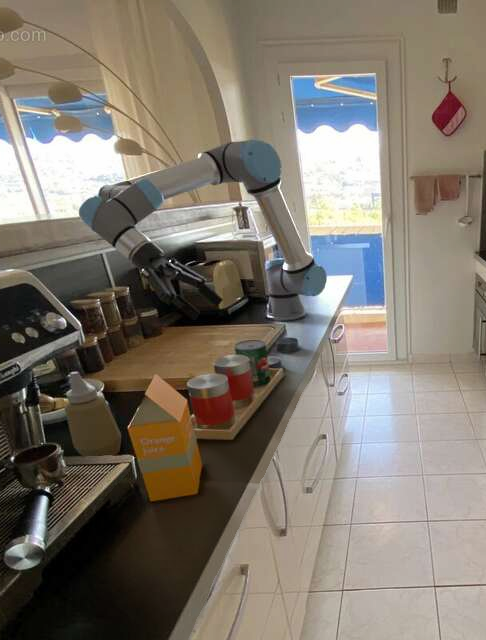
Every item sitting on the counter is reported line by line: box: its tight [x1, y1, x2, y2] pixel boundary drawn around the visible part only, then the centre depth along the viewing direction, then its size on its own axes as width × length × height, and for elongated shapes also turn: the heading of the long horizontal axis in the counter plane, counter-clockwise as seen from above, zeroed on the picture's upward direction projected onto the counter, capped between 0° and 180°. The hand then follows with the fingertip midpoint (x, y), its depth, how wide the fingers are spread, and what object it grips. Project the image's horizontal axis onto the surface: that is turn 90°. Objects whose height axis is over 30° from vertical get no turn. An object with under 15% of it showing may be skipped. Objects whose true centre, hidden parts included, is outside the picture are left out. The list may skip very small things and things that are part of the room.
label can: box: [186, 373, 236, 430], centre depth 97 cm, size 8×8×11 cm
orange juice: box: [127, 373, 203, 502], centre depth 77 cm, size 8×9×20 cm
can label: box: [212, 354, 255, 409], centre depth 108 cm, size 8×8×11 cm
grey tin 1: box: [267, 355, 283, 369], centre depth 130 cm, size 7×7×3 cm
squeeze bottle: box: [64, 371, 122, 457], centre depth 86 cm, size 8×8×18 cm
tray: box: [190, 368, 285, 441], centre depth 110 cm, size 35×12×2 cm, turn 176°
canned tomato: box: [234, 339, 271, 388], centre depth 119 cm, size 8×8×11 cm
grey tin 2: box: [275, 336, 300, 354], centre depth 146 cm, size 7×7×3 cm
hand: (209, 309), depth 121 cm, fingers open, 13 cm apart
